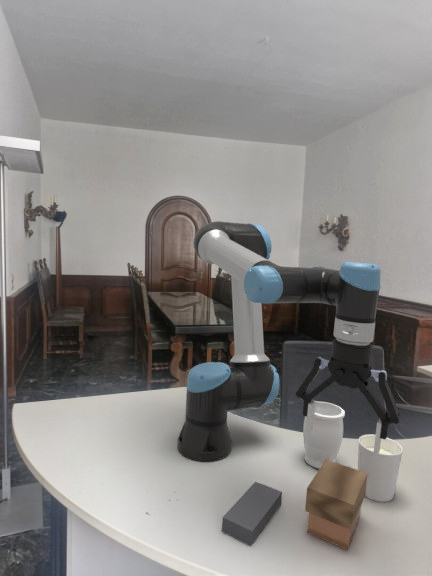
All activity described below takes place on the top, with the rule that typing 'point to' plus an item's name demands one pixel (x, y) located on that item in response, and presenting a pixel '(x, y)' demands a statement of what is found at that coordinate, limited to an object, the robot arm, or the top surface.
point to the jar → (324, 434)
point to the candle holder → (379, 467)
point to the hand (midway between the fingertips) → (341, 441)
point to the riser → (251, 513)
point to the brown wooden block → (336, 493)
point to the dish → (331, 530)
